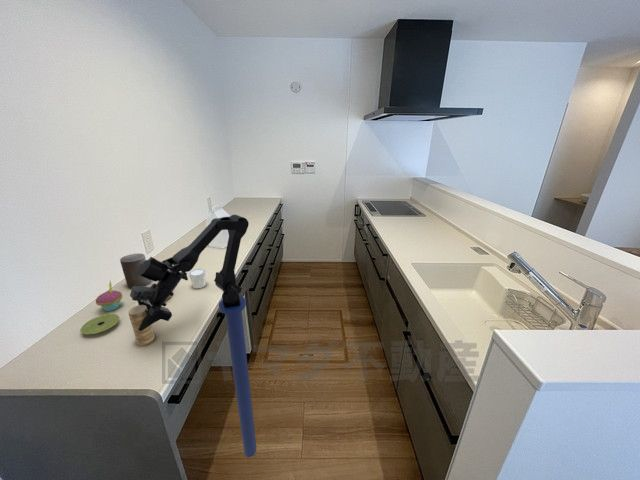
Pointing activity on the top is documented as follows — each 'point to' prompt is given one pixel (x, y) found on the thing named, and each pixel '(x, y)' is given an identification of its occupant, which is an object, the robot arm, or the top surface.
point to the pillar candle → (133, 270)
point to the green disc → (99, 324)
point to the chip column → (136, 319)
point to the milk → (223, 236)
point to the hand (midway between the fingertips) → (137, 326)
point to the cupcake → (109, 299)
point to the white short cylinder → (198, 278)
